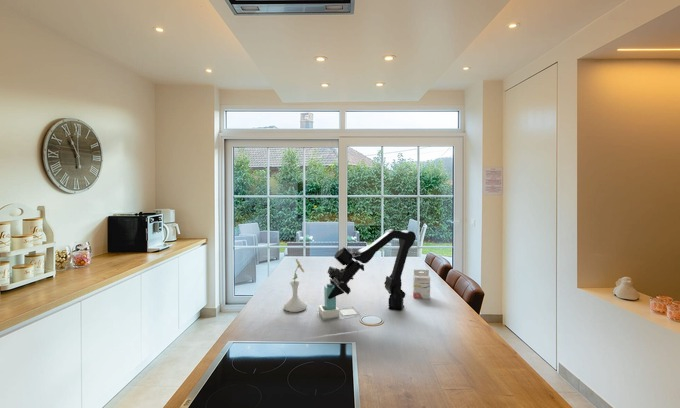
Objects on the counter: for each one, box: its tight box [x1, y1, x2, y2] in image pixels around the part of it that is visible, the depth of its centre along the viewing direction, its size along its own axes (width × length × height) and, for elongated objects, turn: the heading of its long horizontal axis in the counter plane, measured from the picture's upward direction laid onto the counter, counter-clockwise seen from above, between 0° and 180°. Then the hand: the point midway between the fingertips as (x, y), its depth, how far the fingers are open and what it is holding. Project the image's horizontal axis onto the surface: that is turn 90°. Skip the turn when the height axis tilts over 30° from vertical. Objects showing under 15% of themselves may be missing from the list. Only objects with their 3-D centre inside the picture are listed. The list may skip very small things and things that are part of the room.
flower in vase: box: [283, 258, 308, 313], centre depth 169 cm, size 13×11×25 cm
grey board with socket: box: [315, 304, 362, 322], centre depth 162 cm, size 19×13×4 cm
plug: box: [323, 283, 337, 310], centre depth 160 cm, size 4×4×13 cm
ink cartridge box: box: [412, 269, 431, 299], centre depth 185 cm, size 9×5×15 cm, turn 84°
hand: (327, 296), depth 160 cm, fingers closed on plug, 4 cm apart
